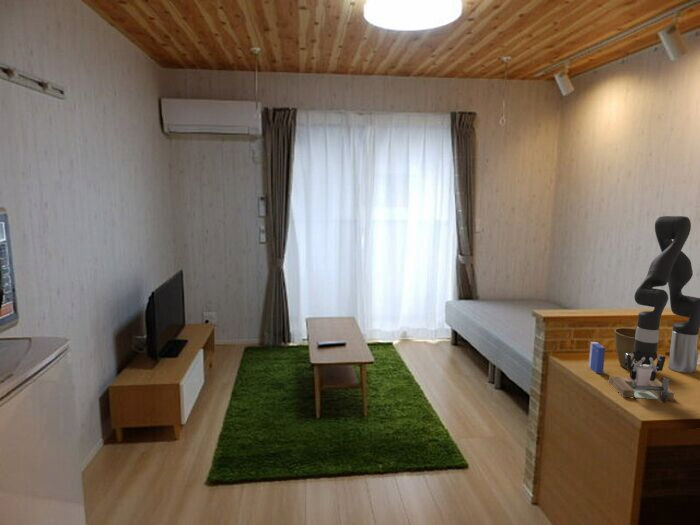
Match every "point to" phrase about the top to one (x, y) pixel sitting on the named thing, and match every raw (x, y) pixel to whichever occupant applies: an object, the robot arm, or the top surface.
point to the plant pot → (624, 343)
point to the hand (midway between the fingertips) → (642, 379)
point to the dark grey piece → (655, 388)
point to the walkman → (596, 357)
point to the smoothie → (643, 375)
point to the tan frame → (625, 390)
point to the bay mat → (644, 394)
